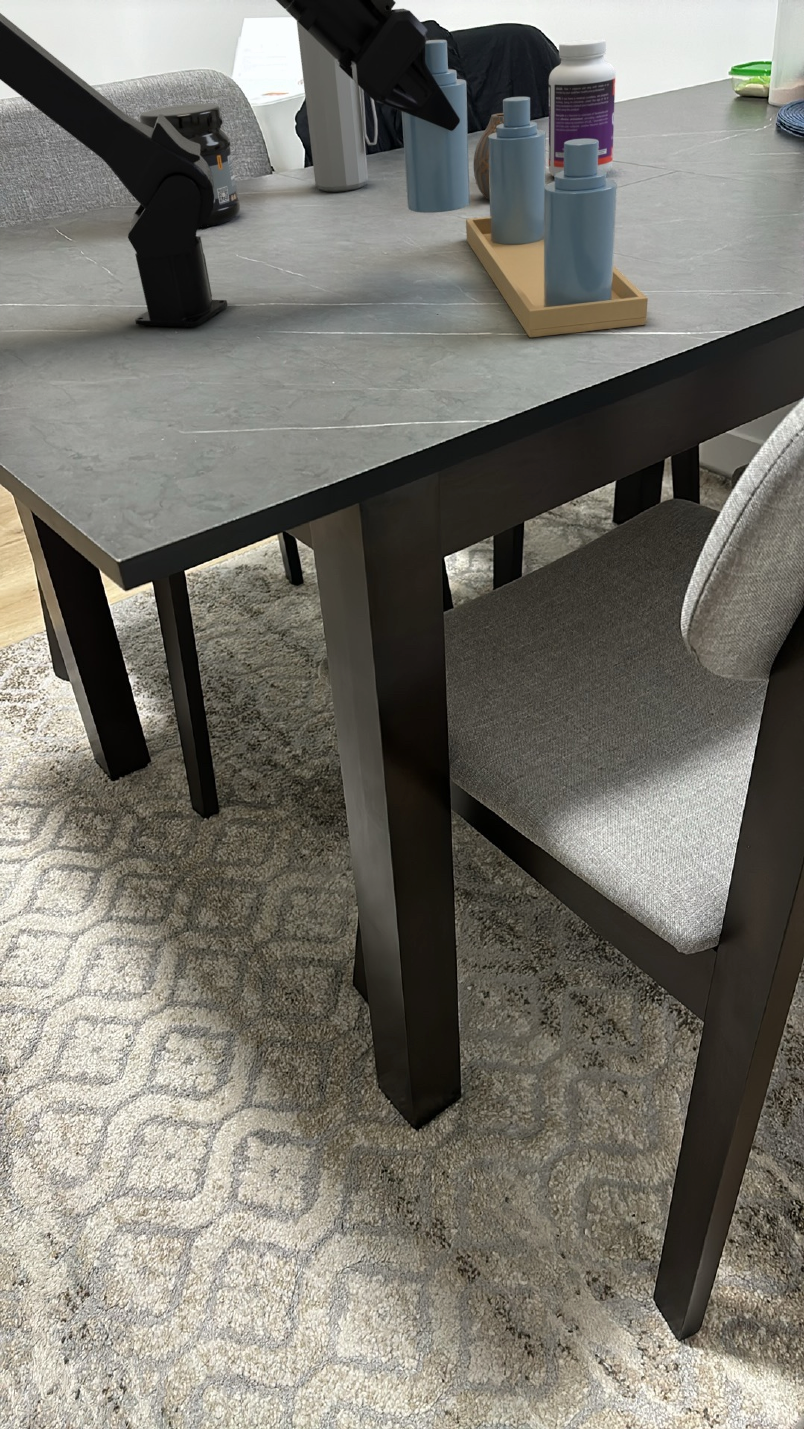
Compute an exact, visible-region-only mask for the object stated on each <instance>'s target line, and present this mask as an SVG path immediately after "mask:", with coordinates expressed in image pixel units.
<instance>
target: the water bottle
mask: <svg viewBox="0 0 804 1429" xmlns="http://www.w3.org/2000/svg"><path fill="white" fill-rule="evenodd" d="M296 29H297V35H298V36H297V37H298V44H299V54H300V62H301V72H302V80H303V88H304V96H305V104H306V105H305V106H306V114H307V124H308V132H309V139H310V140H309V141H310V150H311V157H312V165H313V166H312V167H313V175H314V184H315V186H316V187H317V188H318V189H319V190H321V191H324V192H330V193H337V192H338V193H339V192H349V191H354V190H358V189H360V188H363V187H364V186H365V185H366V183H367V182H368V179H369V174H368V164H367V154H366V153H367V151H366V150H367V149H366V144H367V145H368V146H375V145H377V141H378V117H377V111H376V106H375V101H374V100H373V99H372V98H371V97H370V96H369V99H370V105H371V109H372V116H373V123H374V137H373V142H370V139H369V137H368V134H367V124H366V109H365V108H366V107H365V94H364V93H365V91H364V90H363V89H362V88H361V87H360V86H359V85H358V84H357V83H356V82H355V81H354V80H353V79H352V78H351V77H350V76H348V75H347V74H346V73H345V72H344V71H343V70H342V69H341V68H340V67H339V66H338V65H337V64H336V59H335V58H334V57H333V56H332V55H331V54H330V53H329V52H328V51H327V50H326V49H325V48H324V47H323V46H322V45H321V44H320V43H319V42H318V41H317V40H316V39H315V38H314V37H313V36H312V35H311V34H310V33H309V32H308V31H307V30H306V29H305V28H304V27H303V26H302V25H301V24H300V23H298V22H297V21H296Z"/></svg>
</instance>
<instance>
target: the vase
mask: <svg viewBox="0 0 804 1429" xmlns="http://www.w3.org/2000/svg"><path fill="white" fill-rule="evenodd" d="M500 124H503V112H500V113H494V114H491V116H490V119H489V122H488V125H487V126H486V127H485V130H484V132H483V133H482V134H481V135H480V138H479V140H478V142H477V144H476V146H475V150H474V155H473V176H474V180H475V183H476V186H477V188H478V191H479V192H480V193H481V194H482V196H484V197H485V198H486V199H487V200H489V201H490V191H489V148H488V136H489V135H490V134H493V133H496V126H498V125H500Z"/></svg>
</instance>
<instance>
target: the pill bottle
mask: <svg viewBox="0 0 804 1429" xmlns="http://www.w3.org/2000/svg"><path fill="white" fill-rule="evenodd" d="M606 41H607V40H606V39H602V38H592V39H590V38H589V39H588V38H587V39H578V40H570V41H564V42H560V43H559V45H558V55H559V56H558V57H559V59H560V64H559V65H557V66H555V67H554V68H553V69H552V70H551V71H550V73H549V75H548V172H549V173H550V175H551V176H552V177H554V176H555V174H556V173H559V172H561V171H564V143H565V142H566V141H569V140H574V139H596V140H598V141H599V146H598V169H601V170H604V171H606V172H607V174H608V173H609V172H610V171H611V169H612V167H613V159H614V131H615V130H614V127H615V98H616V70H615V67H614V66H613V65H612V64H611V63H610V62H608V61H606V60H605V59H604V56H605V55H606V52H607V51H606V50H607V49H606V48H607V47H606V46H607V45H606V43H607V42H606Z"/></svg>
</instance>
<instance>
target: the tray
mask: <svg viewBox="0 0 804 1429" xmlns="http://www.w3.org/2000/svg"><path fill="white" fill-rule="evenodd" d="M465 231H466V232H465V233H466V235H465V236H466V242H467V244H468V245H469V246H470V248H471V249H472V251H473V252H474V254H475V255H476V257H477V258H478V260H479V262H480V264H482V266H483V268H484V269H485V271H486V272H487V274H488V276H489V277H490V279H491V280H492V282H493V283H494V285H495V287H496V288H497V289H498V291H499V293H500V295H501V296H502V297H503V299H504V300H505V302H506V303H507V305H508V306H509V308H510V310H511V311H512V313H513V314H514V316H515V317H516V319H517V321H518V322H519V323H520V325H521V327H522V328H523V330H524V331H525V333H526V334H527V336H528V337H529V338H539V337H547V336H554V335H565V334H566V335H567V334H574V333H575V334H576V333H582V332H591V331H600V330H608V329H619V328H627V327H636V326H645V325H647V316H648V315H647V314H648V301H649V300H648V299H649V298H648V297H647V296H646V295H645V294H644V293H643V291H641V290H640V289H639V288H638V287H637V286H636V285H635V284H633V282H632V281H631V280H629V278H627V277H626V276H625V275H624V274H623V273H622V272H621V271H620V270H619V269H618V268H617V267H615V265H614V264H613V281H612V300H606V301H597V302H588V303H579V304H570V305H561V306H552V307H543V287H544V238H543V239H541V240H539V241H536V242H533V243H527V244H518V245H506V244H498V243H494V242H492V241H491V233H490V216H484V217H474V218H466V219H465Z"/></svg>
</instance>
